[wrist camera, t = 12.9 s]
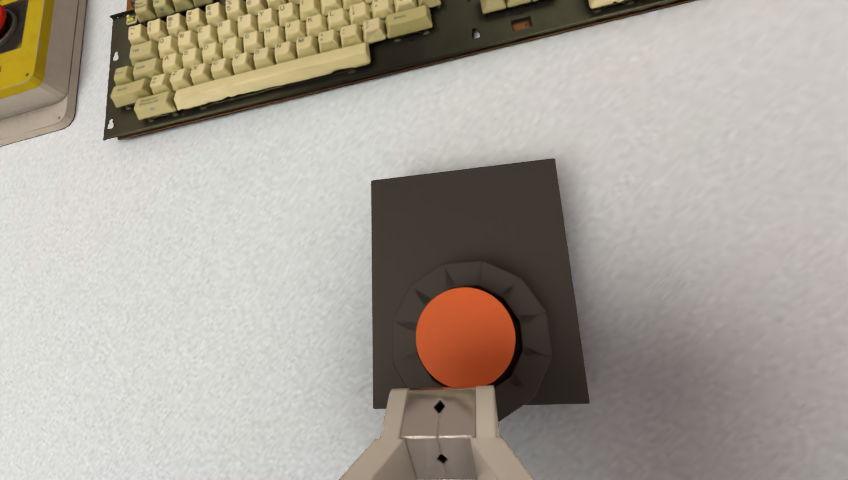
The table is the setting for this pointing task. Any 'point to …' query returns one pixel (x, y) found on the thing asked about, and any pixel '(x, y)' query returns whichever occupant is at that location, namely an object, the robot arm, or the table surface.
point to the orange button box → (477, 275)
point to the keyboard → (305, 47)
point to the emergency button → (38, 65)
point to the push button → (465, 337)
